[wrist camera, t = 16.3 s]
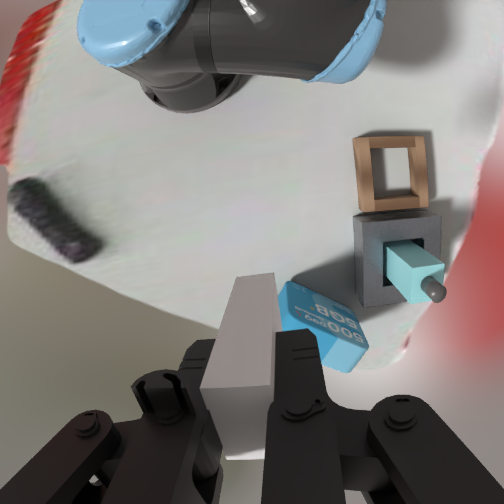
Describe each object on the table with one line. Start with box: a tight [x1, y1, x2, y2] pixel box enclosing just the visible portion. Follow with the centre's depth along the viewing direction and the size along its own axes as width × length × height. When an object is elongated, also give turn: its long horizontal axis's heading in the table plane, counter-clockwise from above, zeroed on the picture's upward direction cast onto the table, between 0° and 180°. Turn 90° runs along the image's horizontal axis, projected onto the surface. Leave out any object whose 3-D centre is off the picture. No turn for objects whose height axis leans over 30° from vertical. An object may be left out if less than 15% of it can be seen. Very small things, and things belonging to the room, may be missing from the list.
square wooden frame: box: [352, 136, 429, 212], centre depth 39 cm, size 10×10×3 cm
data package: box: [278, 281, 369, 373], centre depth 42 cm, size 12×4×12 cm, turn 65°
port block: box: [353, 210, 441, 308], centre depth 42 cm, size 12×12×5 cm
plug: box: [383, 239, 446, 304], centre depth 36 cm, size 4×4×15 cm
